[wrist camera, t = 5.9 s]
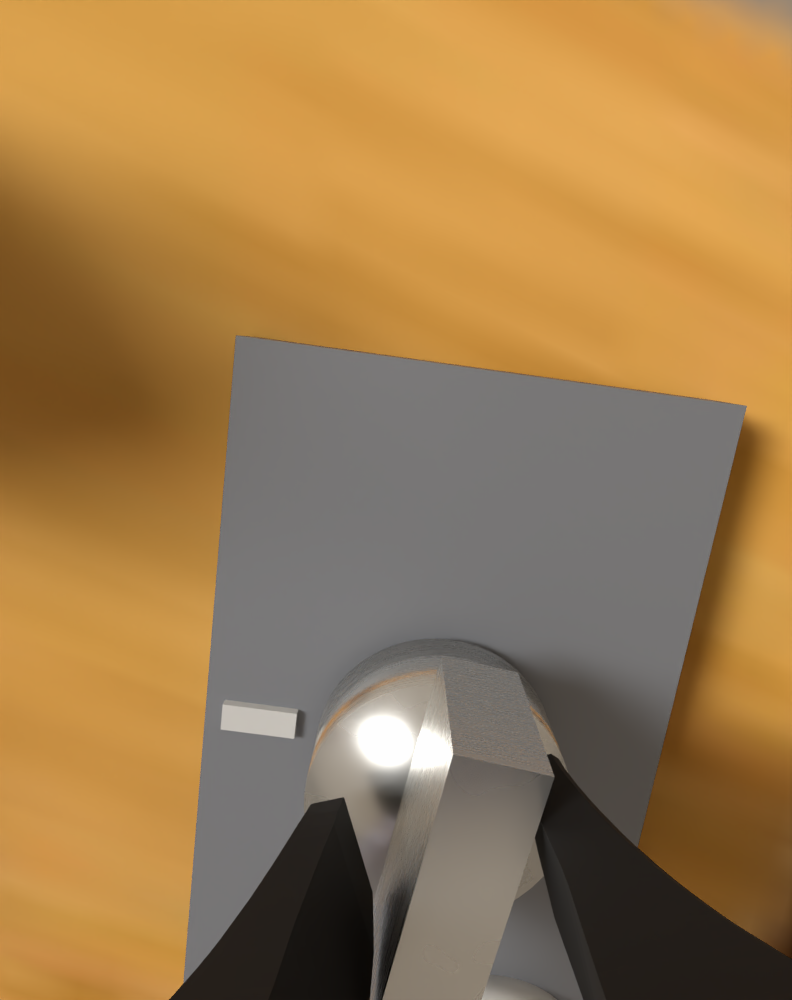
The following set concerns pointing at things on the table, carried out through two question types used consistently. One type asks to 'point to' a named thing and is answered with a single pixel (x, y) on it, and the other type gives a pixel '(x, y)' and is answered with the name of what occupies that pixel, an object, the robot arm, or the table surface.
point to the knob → (437, 805)
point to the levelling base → (446, 584)
